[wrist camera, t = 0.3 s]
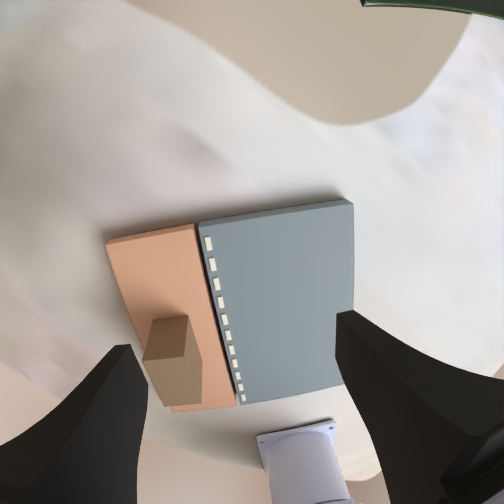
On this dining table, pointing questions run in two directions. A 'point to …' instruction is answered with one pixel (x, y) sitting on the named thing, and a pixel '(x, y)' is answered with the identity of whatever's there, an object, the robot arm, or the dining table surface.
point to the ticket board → (281, 294)
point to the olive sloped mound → (446, 6)
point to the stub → (173, 317)
